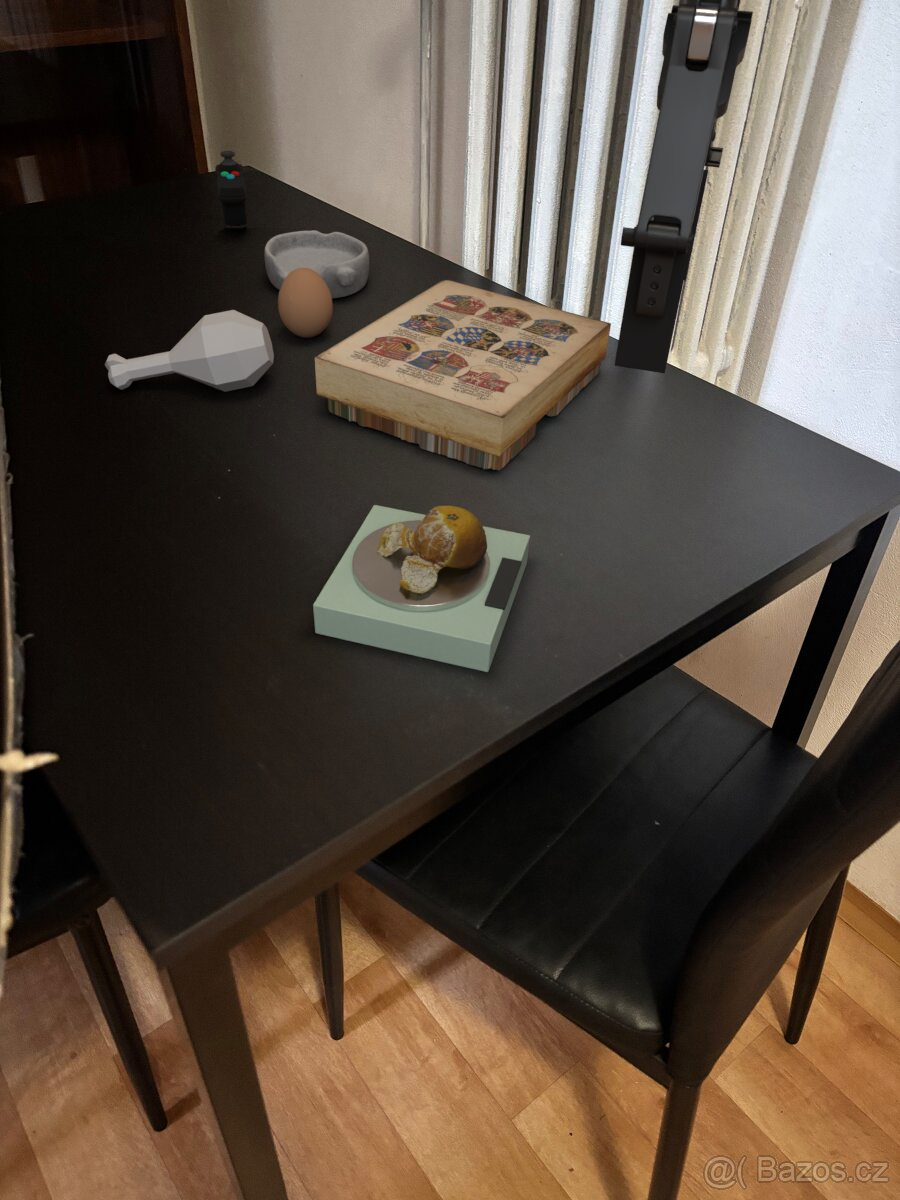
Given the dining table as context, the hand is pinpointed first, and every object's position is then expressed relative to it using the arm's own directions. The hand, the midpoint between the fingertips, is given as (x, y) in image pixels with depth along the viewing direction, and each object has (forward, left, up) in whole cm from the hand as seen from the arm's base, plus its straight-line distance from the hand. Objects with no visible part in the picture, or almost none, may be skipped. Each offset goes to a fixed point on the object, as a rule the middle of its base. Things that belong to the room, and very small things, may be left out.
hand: (653, 317), depth 54 cm
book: (+21, -37, -27) cm, 50 cm away
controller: (+66, -73, -27) cm, 102 cm away
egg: (+42, -43, -27) cm, 66 cm away
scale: (+14, -1, -27) cm, 30 cm away
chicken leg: (+49, -27, -27) cm, 62 cm away
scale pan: (+14, -1, -23) cm, 28 cm away
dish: (+47, -59, -27) cm, 80 cm away
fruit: (+14, -2, -23) cm, 27 cm away
